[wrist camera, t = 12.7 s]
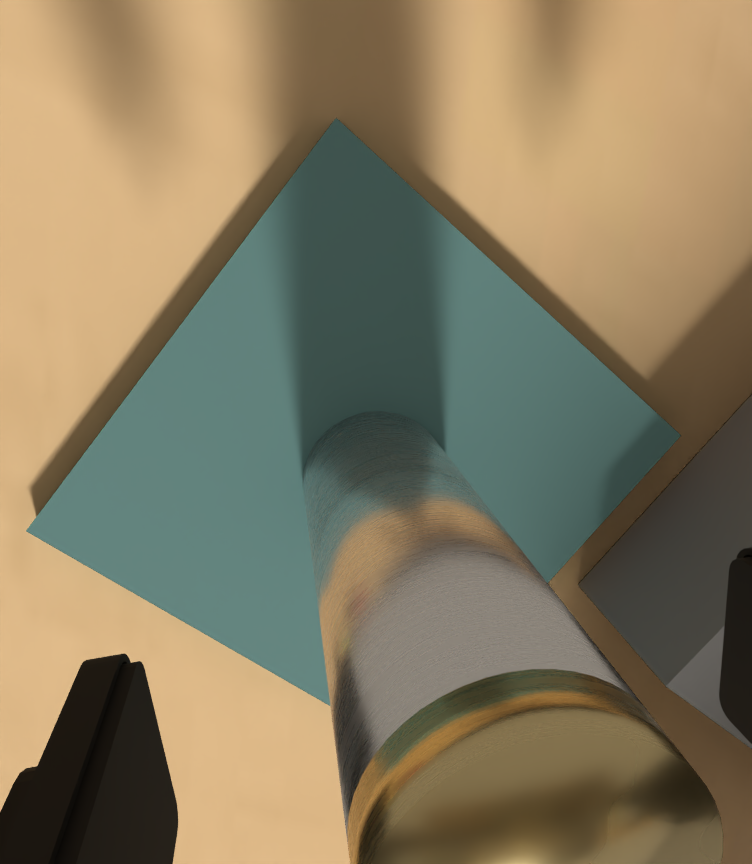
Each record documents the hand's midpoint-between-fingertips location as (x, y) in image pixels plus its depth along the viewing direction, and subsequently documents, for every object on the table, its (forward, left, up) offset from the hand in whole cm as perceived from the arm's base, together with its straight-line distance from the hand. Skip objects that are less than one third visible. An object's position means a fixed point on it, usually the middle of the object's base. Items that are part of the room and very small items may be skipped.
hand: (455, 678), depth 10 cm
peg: (0, 0, -8) cm, 9 cm away
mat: (0, 0, -9) cm, 9 cm away
